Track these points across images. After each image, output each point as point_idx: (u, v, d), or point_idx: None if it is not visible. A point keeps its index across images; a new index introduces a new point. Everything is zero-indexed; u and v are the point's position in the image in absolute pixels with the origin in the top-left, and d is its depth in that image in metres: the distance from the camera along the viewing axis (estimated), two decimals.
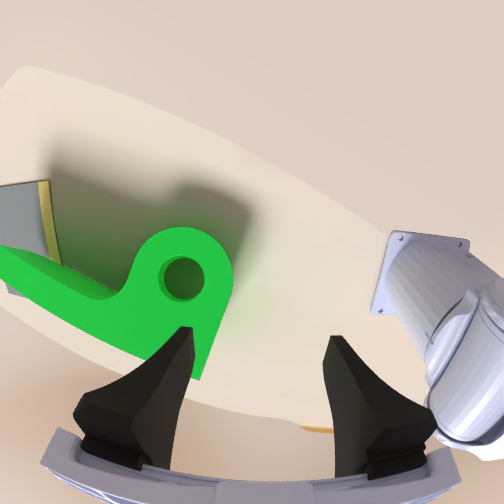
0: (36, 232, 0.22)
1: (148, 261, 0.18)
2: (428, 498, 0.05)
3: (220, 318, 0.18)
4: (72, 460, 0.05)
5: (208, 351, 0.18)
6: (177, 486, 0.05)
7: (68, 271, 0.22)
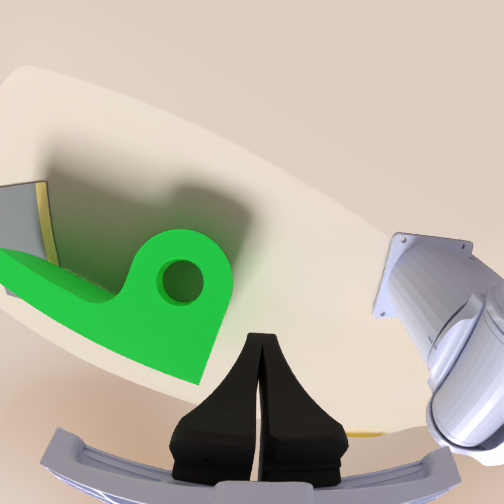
0: (33, 234, 0.21)
1: (146, 264, 0.17)
2: (428, 498, 0.05)
3: (220, 322, 0.18)
4: (72, 460, 0.05)
5: (207, 356, 0.17)
6: (177, 486, 0.05)
7: (66, 273, 0.21)
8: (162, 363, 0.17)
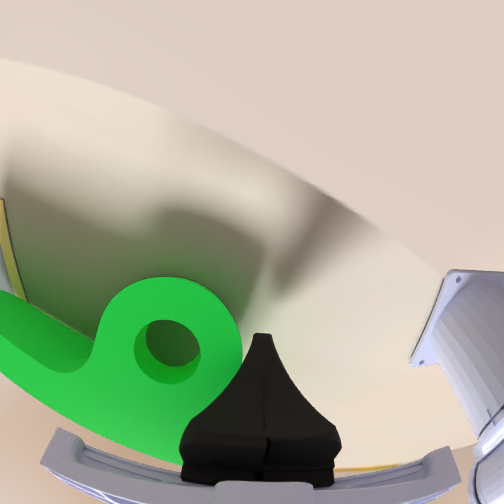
0: None
1: (118, 326, 0.11)
2: (428, 498, 0.05)
3: None
4: (72, 460, 0.05)
5: None
6: (177, 486, 0.05)
7: (33, 313, 0.15)
8: (151, 447, 0.11)
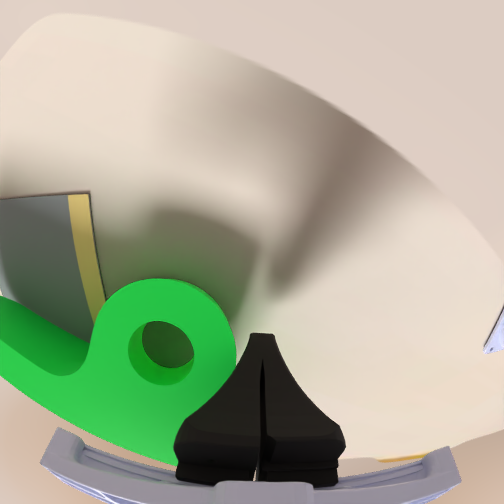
0: (65, 273, 0.15)
1: (112, 329, 0.11)
2: (428, 498, 0.05)
3: None
4: (72, 460, 0.05)
5: None
6: (177, 486, 0.05)
7: (33, 319, 0.16)
8: (149, 449, 0.11)
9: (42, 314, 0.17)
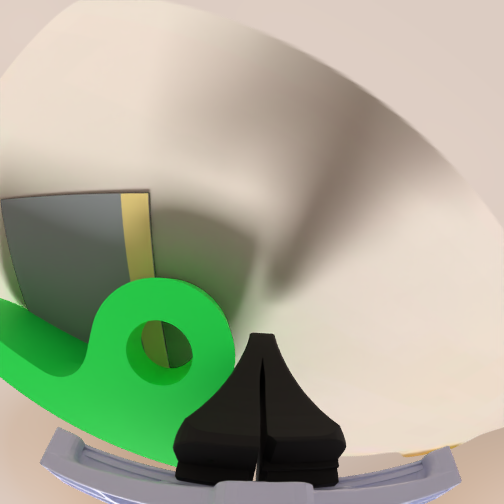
0: (110, 280, 0.15)
1: (110, 329, 0.11)
2: (428, 498, 0.05)
3: None
4: (72, 460, 0.05)
5: None
6: (177, 486, 0.05)
7: (34, 321, 0.16)
8: (149, 450, 0.11)
9: (75, 323, 0.17)
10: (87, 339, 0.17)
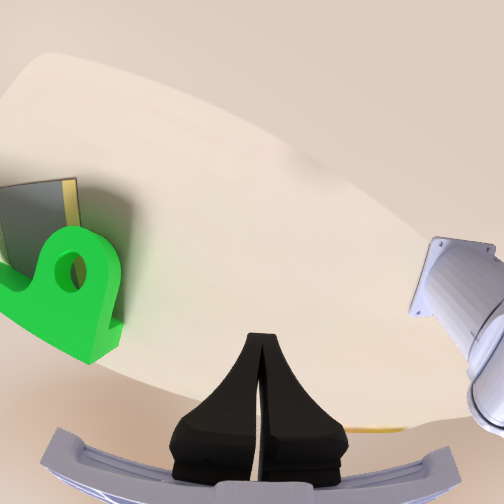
0: None
1: (47, 257, 0.17)
2: (428, 498, 0.05)
3: (100, 307, 0.18)
4: (72, 460, 0.05)
5: (93, 338, 0.17)
6: (177, 486, 0.05)
7: (13, 272, 0.22)
8: (61, 343, 0.17)
9: None
10: None
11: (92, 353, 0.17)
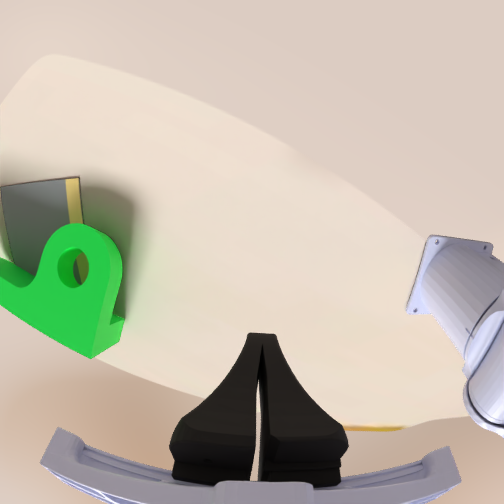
0: None
1: (51, 254, 0.18)
2: (428, 498, 0.05)
3: (102, 302, 0.18)
4: (72, 460, 0.05)
5: (94, 332, 0.18)
6: (177, 486, 0.05)
7: (17, 269, 0.22)
8: (63, 337, 0.17)
9: None
10: None
11: (93, 347, 0.18)
